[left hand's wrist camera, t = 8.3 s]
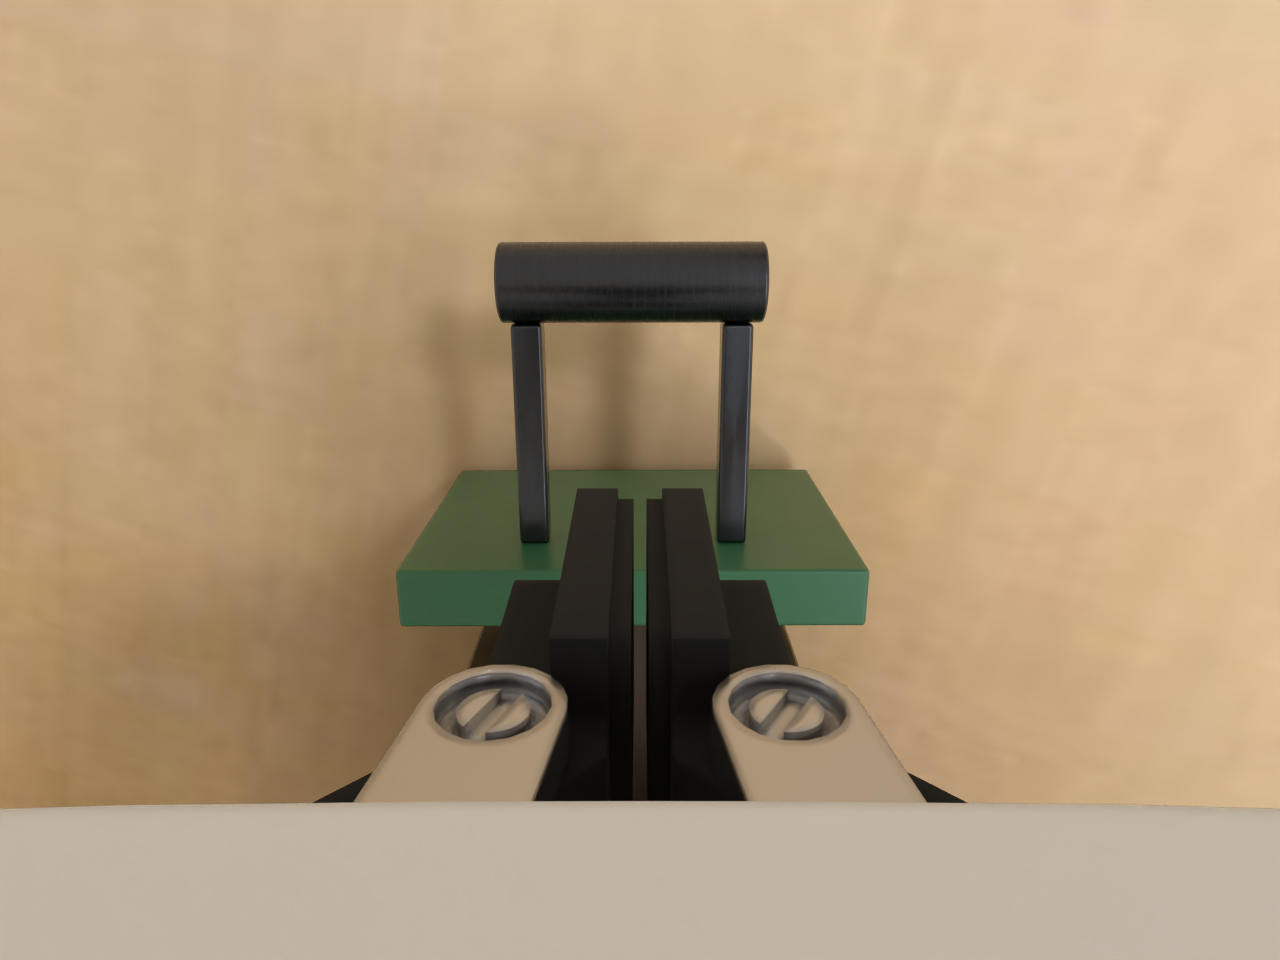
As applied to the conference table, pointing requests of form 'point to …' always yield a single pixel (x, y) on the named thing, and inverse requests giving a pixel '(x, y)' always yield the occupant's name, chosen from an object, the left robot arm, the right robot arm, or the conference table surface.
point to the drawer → (544, 500)
